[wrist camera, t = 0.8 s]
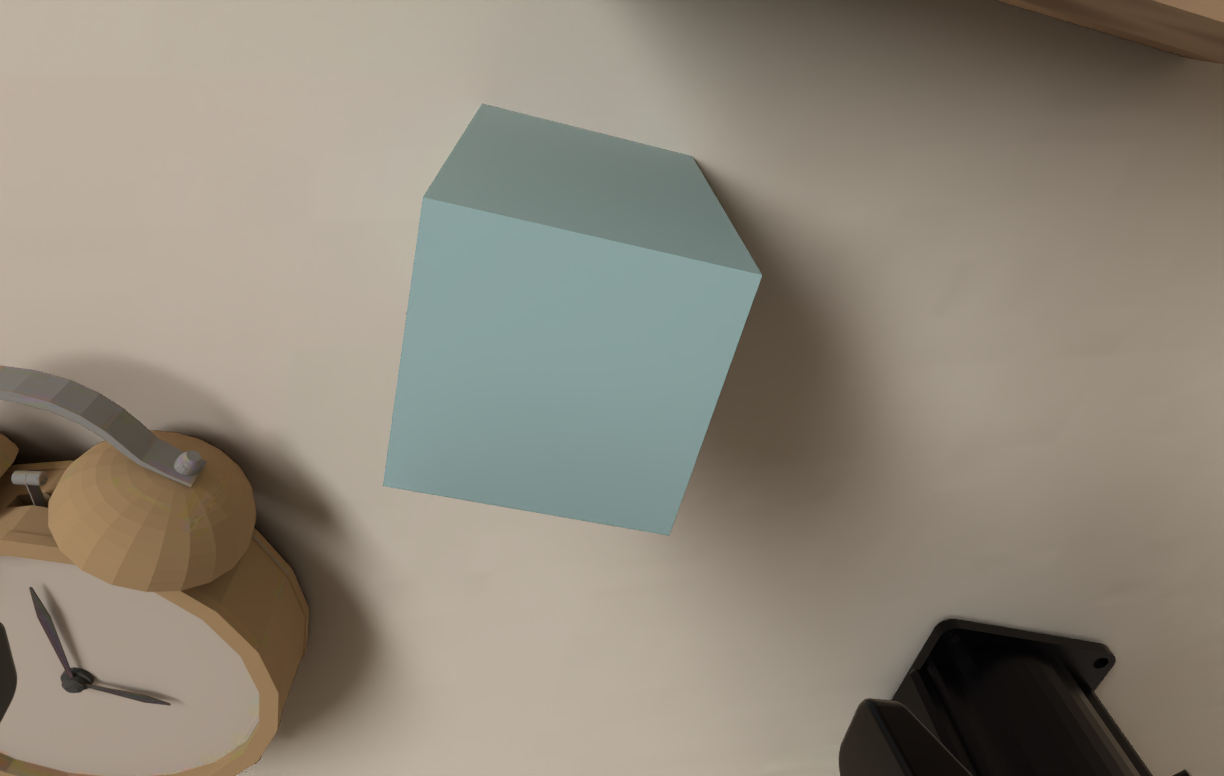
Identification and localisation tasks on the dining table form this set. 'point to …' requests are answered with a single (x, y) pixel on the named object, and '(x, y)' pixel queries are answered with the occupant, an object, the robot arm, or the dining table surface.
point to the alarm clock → (138, 602)
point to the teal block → (566, 324)
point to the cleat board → (1147, 22)
